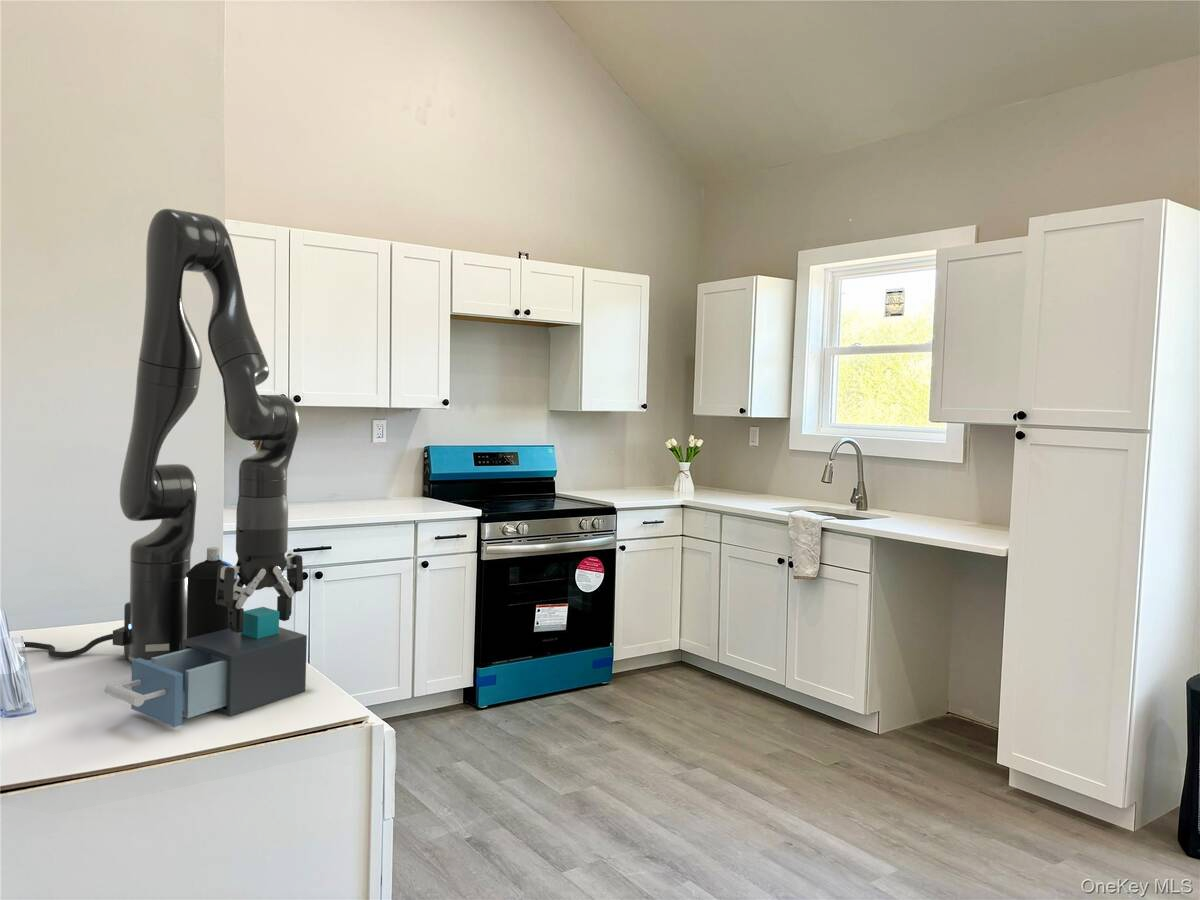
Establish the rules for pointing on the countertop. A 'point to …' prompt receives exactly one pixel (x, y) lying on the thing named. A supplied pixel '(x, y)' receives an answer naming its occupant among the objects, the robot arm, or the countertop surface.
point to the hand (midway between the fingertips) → (260, 625)
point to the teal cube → (260, 622)
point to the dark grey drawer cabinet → (256, 666)
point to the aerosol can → (205, 597)
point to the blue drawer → (175, 685)
